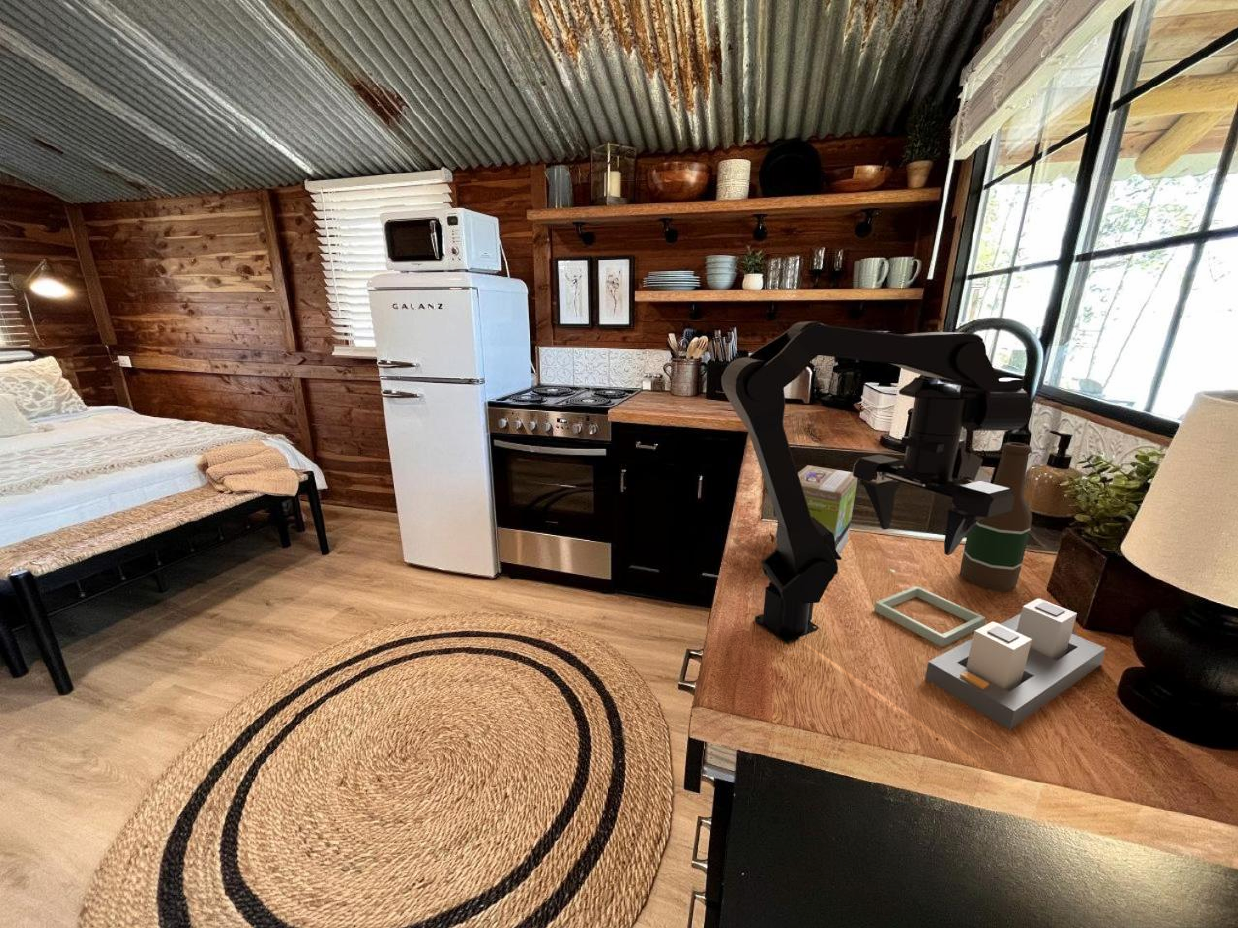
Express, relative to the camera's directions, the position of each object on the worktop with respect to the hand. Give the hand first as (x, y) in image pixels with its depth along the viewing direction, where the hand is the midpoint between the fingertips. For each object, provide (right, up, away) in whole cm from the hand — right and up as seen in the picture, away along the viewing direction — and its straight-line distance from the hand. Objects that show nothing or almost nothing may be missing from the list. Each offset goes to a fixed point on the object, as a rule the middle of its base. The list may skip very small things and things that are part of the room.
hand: (914, 540), depth 69 cm
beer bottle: (+21, -9, +14) cm, 27 cm away
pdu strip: (+9, -15, -7) cm, 19 cm away
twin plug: (+13, -14, -5) cm, 20 cm away
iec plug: (+3, -16, -10) cm, 19 cm away
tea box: (-4, -6, +27) cm, 28 cm away
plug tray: (+4, -12, +4) cm, 13 cm away
